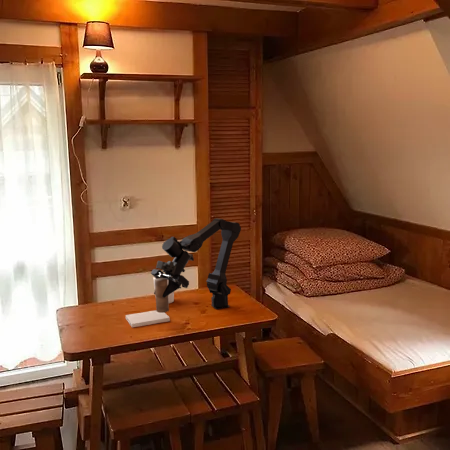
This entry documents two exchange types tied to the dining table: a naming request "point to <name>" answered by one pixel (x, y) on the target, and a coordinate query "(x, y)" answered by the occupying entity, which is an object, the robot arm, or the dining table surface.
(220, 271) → the robot arm
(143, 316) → the stone slab
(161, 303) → the walnut roller
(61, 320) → the dining table surface
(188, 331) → the dining table surface
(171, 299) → the white cylinder
